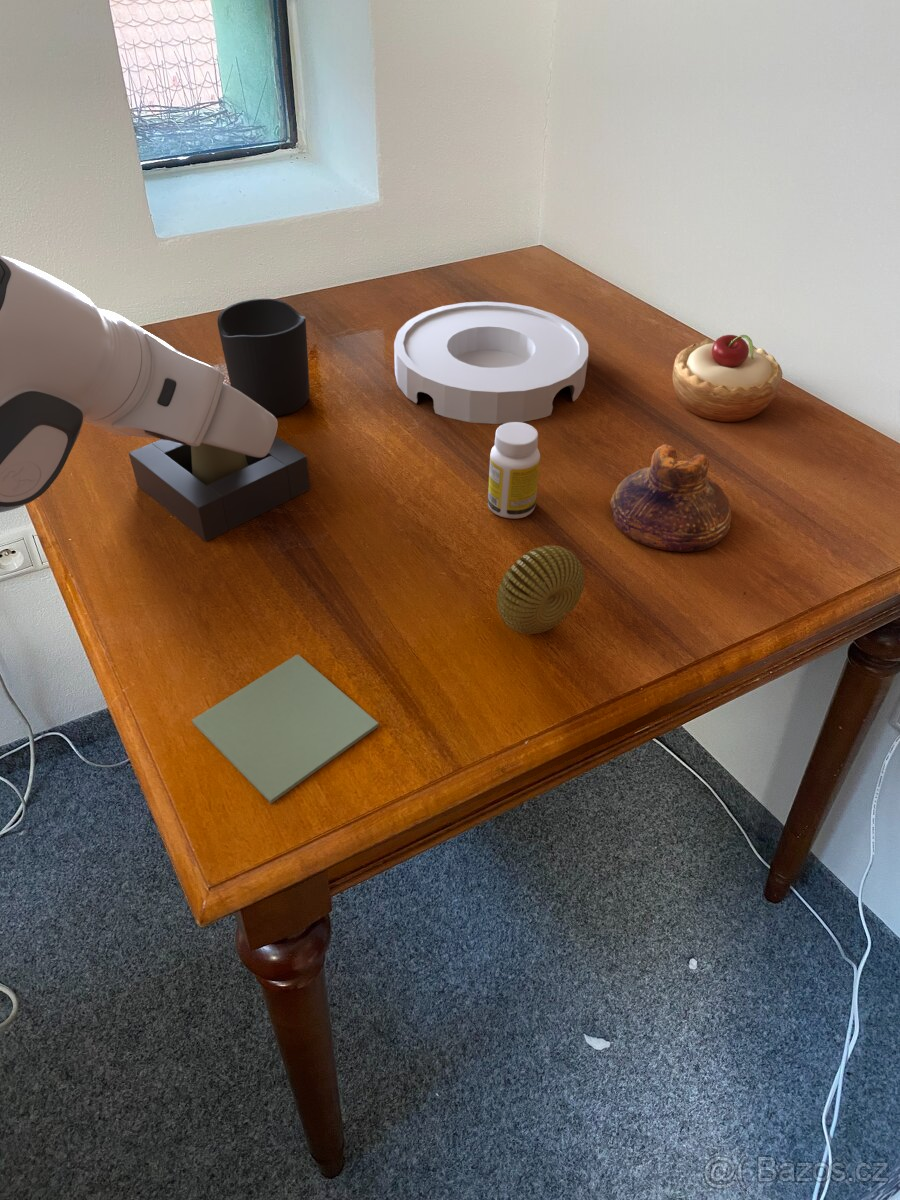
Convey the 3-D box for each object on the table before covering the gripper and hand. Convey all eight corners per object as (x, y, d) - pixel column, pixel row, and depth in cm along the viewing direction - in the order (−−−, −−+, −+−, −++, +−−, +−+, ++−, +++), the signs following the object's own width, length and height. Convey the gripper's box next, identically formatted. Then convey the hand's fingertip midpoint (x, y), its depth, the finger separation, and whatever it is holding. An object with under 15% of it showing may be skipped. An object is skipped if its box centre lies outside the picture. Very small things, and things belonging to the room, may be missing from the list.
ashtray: (571, 331, 116) (575, 302, 113) (598, 424, 99) (603, 392, 96) (396, 330, 115) (395, 300, 112) (393, 423, 98) (392, 392, 95)
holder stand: (205, 542, 82) (198, 507, 79) (137, 486, 88) (128, 452, 86) (310, 489, 89) (307, 456, 86) (239, 440, 95) (234, 408, 92)
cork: (248, 506, 86) (231, 407, 79) (187, 504, 86) (164, 406, 79) (259, 471, 91) (244, 375, 83) (200, 469, 91) (180, 373, 83)
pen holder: (320, 381, 105) (313, 301, 98) (303, 423, 98) (294, 339, 91) (243, 376, 105) (231, 296, 98) (220, 417, 98) (205, 333, 92)
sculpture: (558, 594, 78) (568, 523, 72) (587, 621, 75) (600, 549, 70) (484, 628, 74) (489, 556, 69) (513, 657, 72) (520, 584, 66)
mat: (271, 804, 61) (270, 800, 61) (192, 723, 66) (191, 719, 66) (379, 726, 66) (378, 723, 66) (298, 657, 71) (297, 653, 71)
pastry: (717, 368, 109) (734, 299, 103) (792, 409, 102) (815, 338, 96) (646, 394, 104) (660, 323, 98) (721, 439, 97) (740, 366, 91)
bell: (584, 509, 87) (593, 447, 82) (666, 469, 92) (680, 408, 87) (672, 572, 80) (688, 508, 75) (755, 524, 86) (776, 462, 81)
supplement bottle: (542, 499, 88) (550, 427, 82) (524, 525, 85) (532, 451, 79) (498, 487, 90) (503, 414, 84) (479, 512, 86) (483, 438, 81)
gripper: (17, 383, 75) (126, 428, 88) (204, 449, 68) (292, 488, 81) (42, 313, 75) (147, 369, 88) (231, 372, 68) (315, 423, 81)
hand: (218, 426), depth 84 cm, fingers open, 8 cm apart
